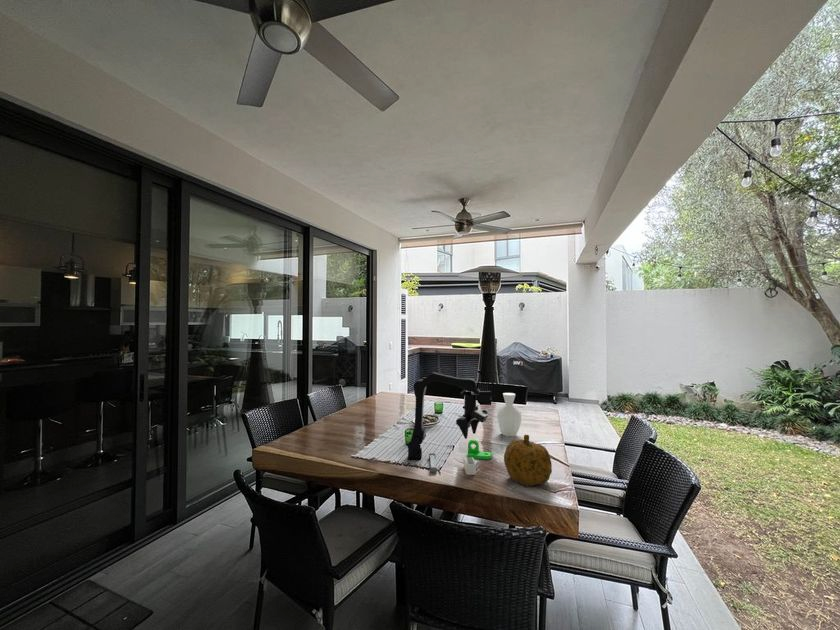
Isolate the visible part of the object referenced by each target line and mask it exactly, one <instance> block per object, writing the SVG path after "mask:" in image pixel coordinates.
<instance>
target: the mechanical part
mask: <svg viewBox="0 0 840 630" xmlns="http://www.w3.org/2000/svg"><path fill="white" fill-rule="evenodd" d="M472 445H475V447H472ZM479 445H480V444H479V442H478V440H477V439H470V440H469V441H468V443H467V454H466V455H467V456H466V457H472V458H474V460H475V459H476V460H488V461H489V460H491V459H492V452H490V451H480V450H479V449H480V447H479Z"/></svg>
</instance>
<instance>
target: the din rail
mask: <svg viewBox="0 0 840 630" xmlns="http://www.w3.org/2000/svg"><path fill="white" fill-rule="evenodd" d="M428 459H429V462H430V467H429V474H430V475H431V474H432V475H433V474H434V475H436V474H437V472H438V469H437V468H438V467H437V466H436V465H437V464H436V453H435V452H434V453H429V452H428Z"/></svg>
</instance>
